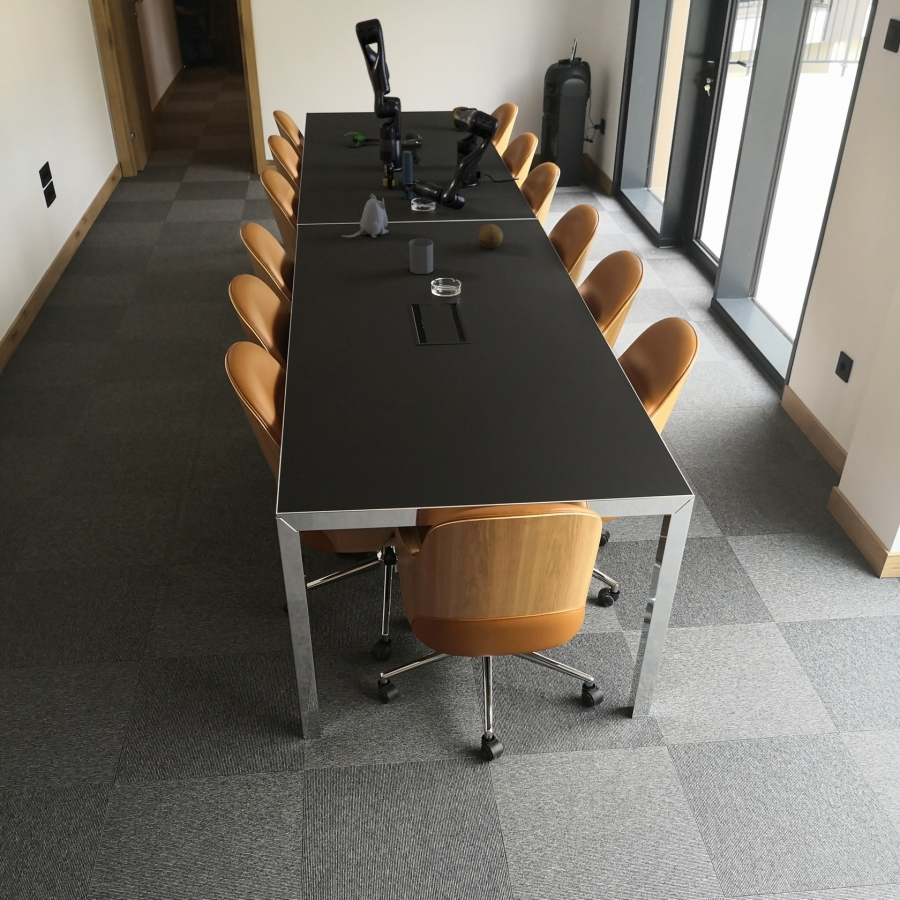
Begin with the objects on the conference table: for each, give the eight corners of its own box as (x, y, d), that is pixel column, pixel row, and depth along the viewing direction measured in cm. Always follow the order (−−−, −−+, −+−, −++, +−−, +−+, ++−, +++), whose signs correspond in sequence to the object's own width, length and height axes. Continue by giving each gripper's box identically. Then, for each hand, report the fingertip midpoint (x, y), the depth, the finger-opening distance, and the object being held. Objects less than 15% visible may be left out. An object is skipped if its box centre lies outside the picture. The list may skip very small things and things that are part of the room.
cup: (409, 265, 311) (408, 238, 306) (432, 265, 312) (431, 238, 307) (410, 274, 304) (409, 246, 299) (433, 273, 305) (433, 246, 299)
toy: (394, 233, 341) (393, 195, 333) (349, 248, 327) (347, 208, 319) (379, 228, 347) (377, 190, 338) (334, 242, 332) (331, 203, 324)
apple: (471, 132, 486) (471, 108, 479) (451, 132, 486) (451, 108, 479) (470, 128, 495) (471, 104, 488) (452, 128, 495) (452, 104, 488)
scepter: (399, 128, 463) (342, 126, 461) (399, 144, 456) (341, 141, 454) (398, 138, 468) (343, 136, 466) (398, 153, 461) (342, 151, 459)
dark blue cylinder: (404, 196, 384) (403, 150, 373) (414, 196, 383) (413, 150, 372) (402, 199, 380) (401, 153, 369) (412, 199, 379) (411, 153, 369)
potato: (500, 240, 334) (501, 219, 330) (505, 252, 323) (505, 231, 318) (475, 240, 334) (475, 220, 330) (479, 253, 322) (479, 232, 318)
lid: (386, 186, 390) (386, 181, 389) (380, 184, 394) (380, 179, 392) (396, 184, 393) (396, 180, 391) (390, 182, 396) (390, 177, 395)
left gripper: (376, 145, 390) (378, 183, 399) (382, 152, 378) (383, 191, 387) (393, 144, 391) (394, 182, 400) (398, 151, 379) (400, 190, 389)
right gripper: (441, 179, 371) (416, 170, 382) (414, 185, 363) (390, 176, 374) (441, 196, 375) (417, 188, 386) (415, 203, 367) (391, 193, 378)
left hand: (389, 186), depth 394 cm, fingers closed on lid, 5 cm apart
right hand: (404, 182), depth 380 cm, fingers closed on dark blue cylinder, 4 cm apart
